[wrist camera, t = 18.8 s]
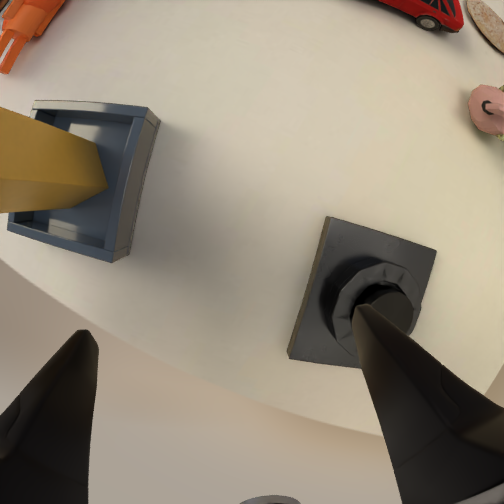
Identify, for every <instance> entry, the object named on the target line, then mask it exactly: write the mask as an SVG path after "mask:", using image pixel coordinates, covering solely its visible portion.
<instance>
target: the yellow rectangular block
mask: <svg viewBox="0 0 504 504" xmlns="http://www.w3.org/2000/svg"><path fill="white" fill-rule="evenodd" d="M108 188H109V187H108V184H107V181H106V178H105V175H104V171H103V168H102V164H101V161H100V158H99V154H98V150H97V147H96V143H94V142H92V141H89V140H87V139H84V138H82V137H79V136H77V135H74V134H72V133H69V132H66V131H64V130H61V129H59V128H56V127H54V126H51V125H48V124H46V123H43V122H40V121H38V120H35V119H32V118H30V117H27V116H24V115H21V114H19V113H16V112H13V111H10V110H8V109H5V108H2V107H0V213H9V212H22V211H36V210H51V209H69V208H72V207H74V206H76V205H77V204H79V203H81V202H83V201H85V200H87V199H89V198H90V197H92V196H94V195H96V194H98V193H100V192H102V191H104V190H106V189H108Z"/></svg>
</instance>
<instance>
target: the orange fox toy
mask: <svg viewBox="0 0 504 504" xmlns="http://www.w3.org/2000/svg"><path fill="white" fill-rule="evenodd" d="M64 1H65V0H13V1H12V2H11V4H10V5H9V7H8V8H7V9H6V11H5V12H4V14H3V15H2V18H4V22H3V26H2V31H3V33H2V34H1V36H0V57H1V55H2V53H3V52H4V50H5V48H6V46H7V45H8V43H9V41H10V40H11V38H12V39H15V40H14V42H13V43H12V45H11V47H10V49H9V50H8V52H7V54H6V56H5V58H4V59H3V61H2V63H1V65H0V73H3V74H8V73H9V71H10V70H11V68H12V66H13V64H14V62H15V60H16V58H17V56H18V55H19V53H20V51H21V49H22V48H23V46H24V44H25V43H26V42H29V41H30V40H31V38H32V37H33V35H34V36H35V37H38V36H41V34H42V33H43V31H44V30H45V28H46V27H47V25H48V24H49V22H50V21H51V19H52V18H53V16H54V15H55V14H56V12H57V11H58V9H59V8H60V7H61V5H62V4H63V3H64Z"/></svg>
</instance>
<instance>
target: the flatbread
mask: <svg viewBox="0 0 504 504" xmlns="http://www.w3.org/2000/svg"><path fill="white" fill-rule="evenodd" d="M467 8H468V11H469V13H470V15H471V17H472V18H473V20H474V22H475V23H476V25H477V26H478V28H479V29H480V30H481V32H482V33H483V34H484V35H485V36H486V37H487V39H488V40H489V41H490V42H491V43H492V44H493V45H494V46H495V47H496V48H497V49H499V50H500V51H502V52H503V53H504V22H503V21H502V19H501V18H500V17H499V16H498V15H497V14H496V13H495V12H494V11H493V10H492V9H491V8H489V7H488V6H487V5H486V4H485V3H484V2H482V1H481V0H467Z"/></svg>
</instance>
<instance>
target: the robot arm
mask: <svg viewBox="0 0 504 504" xmlns="http://www.w3.org/2000/svg"><path fill="white" fill-rule="evenodd" d="M352 331H353V335H354V339H355V343H356V347H357V352H358V356H359V360H360V365H361V368H362V371H363V375H364V377H365V380H366V383H367V386H368V389H369V392H370V395H371V398H372V401H373V404H374V407H375V410H376V413H377V416H378V419H379V423H380V426H381V429H382V432H383V435H384V439H385V442H386V445H387V449H388V452H389V455H390V459H391V462H392V466H393V469H394V474H395V477H396V481H397V484H398V488H399V492H400V496H401V500H402V504H504V408H503V407H501V406H499V405H497V404H495V403H493V402H492V401H491V400H489V399H488V398H486V397H485V396H484V395H482V394H481V393H479V392H478V391H476V390H475V389H473V388H472V387H471V386H469V385H468V384H466V383H465V382H464V381H462V380H461V379H460V378H458V377H457V376H456V375H455V374H453V373H452V372H451V371H450V370H449V369H447V368H446V367H445V366H444V365H442V364H441V363H440V362H439V361H438V360H437V359H435V358H434V357H433V356H432V355H431V354H429V353H428V352H427V351H426V350H425V349H423V348H422V347H421V346H420V345H419V344H417V343H416V342H415V341H414V340H412V339H411V338H410V337H409V336H408V335H406V334H405V333H404V332H403V331H401V330H400V329H399V328H398V327H397V326H395V325H394V324H393V323H392V322H390V321H389V320H388V319H387V318H385V317H384V316H383V315H382V314H380V313H379V312H378V311H377V310H375V309H374V308H373V307H372V306H370V305H369V304H363V305H358V306H356V308H355V311H354V315H353V319H352ZM98 355H99V348H98V345H97V342H96V341H95V339H94V338H93V336H92V335H91V333H90V332H89V331H88V330H77V331H76V332H75V333H74V334H73V335H72V336H71V337H70V338H69V339H68V340H67V341H66V342H65V344H64V345H63V346H62V347H61V348H60V349H59V350H58V351H57V352H56V353H55V354H54V355H53V356H52V358H51V359H50V360H49V361H48V362H47V363H46V364H45V365H44V366H43V368H42V369H41V370H40V371H39V372H38V373H37V374H36V375H35V377H34V378H33V379H32V380H31V381H30V382H29V383H28V384H27V386H26V387H25V388H24V389H23V390H22V391H21V393H20V394H19V395H18V396H17V397H16V398H15V400H14V401H13V402H12V403H11V405H10V406H9V407H8V408H7V409H6V410H5V411H4V412H3V413H2V414H1V415H0V504H88V475H89V474H88V473H89V455H90V441H91V430H92V419H93V411H94V403H95V396H96V388H97V370H98V369H97V368H98Z"/></svg>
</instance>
